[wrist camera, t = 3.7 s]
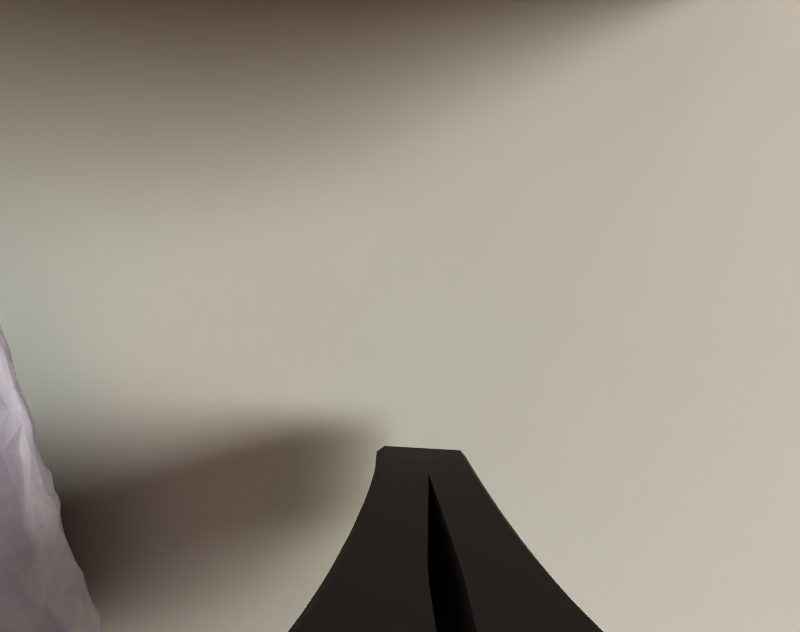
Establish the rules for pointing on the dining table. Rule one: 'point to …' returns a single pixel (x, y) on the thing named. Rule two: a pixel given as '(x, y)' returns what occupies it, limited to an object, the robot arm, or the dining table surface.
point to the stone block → (33, 530)
